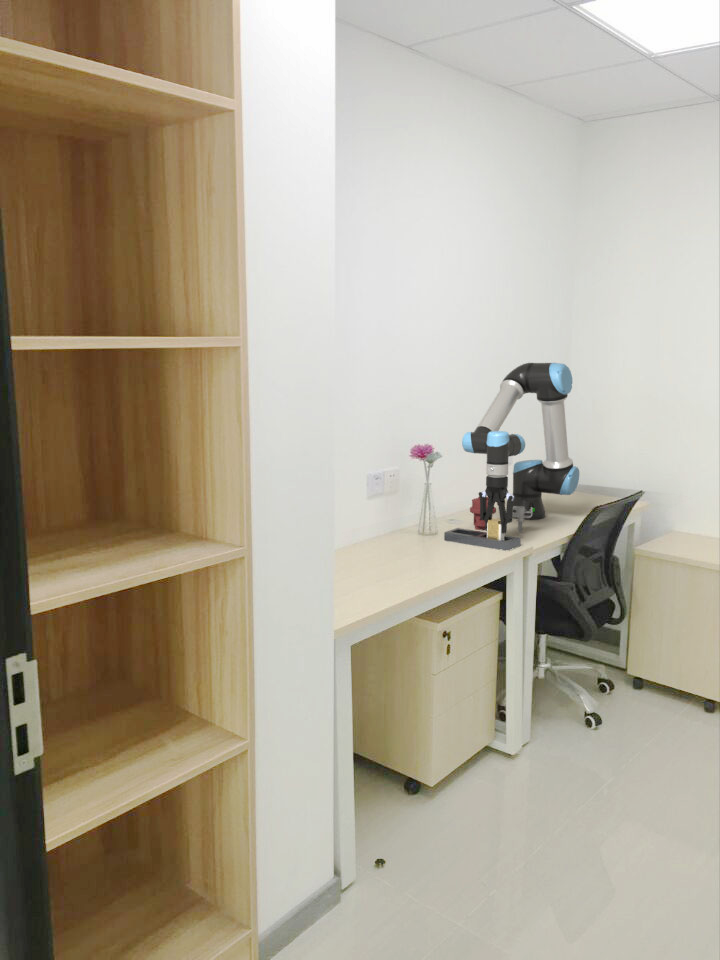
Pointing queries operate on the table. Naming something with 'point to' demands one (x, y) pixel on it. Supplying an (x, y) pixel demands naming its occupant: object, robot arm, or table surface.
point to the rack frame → (481, 539)
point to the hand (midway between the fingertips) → (495, 540)
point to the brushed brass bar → (493, 528)
